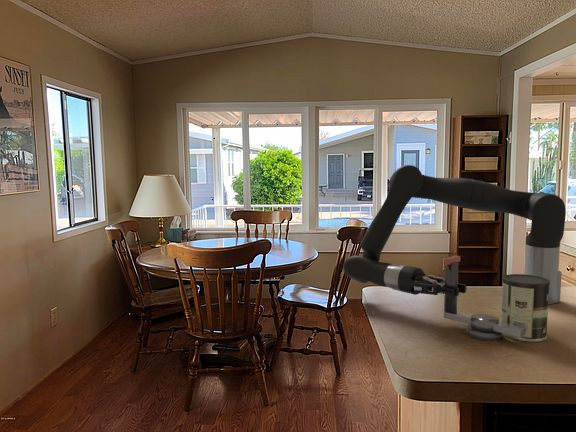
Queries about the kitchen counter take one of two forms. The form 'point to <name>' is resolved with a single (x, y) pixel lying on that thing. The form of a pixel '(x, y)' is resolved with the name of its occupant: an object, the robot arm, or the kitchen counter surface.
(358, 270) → the robot arm
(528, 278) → the coffee can
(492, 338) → the base
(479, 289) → the kitchen counter surface
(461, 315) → the crank
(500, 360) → the kitchen counter surface
